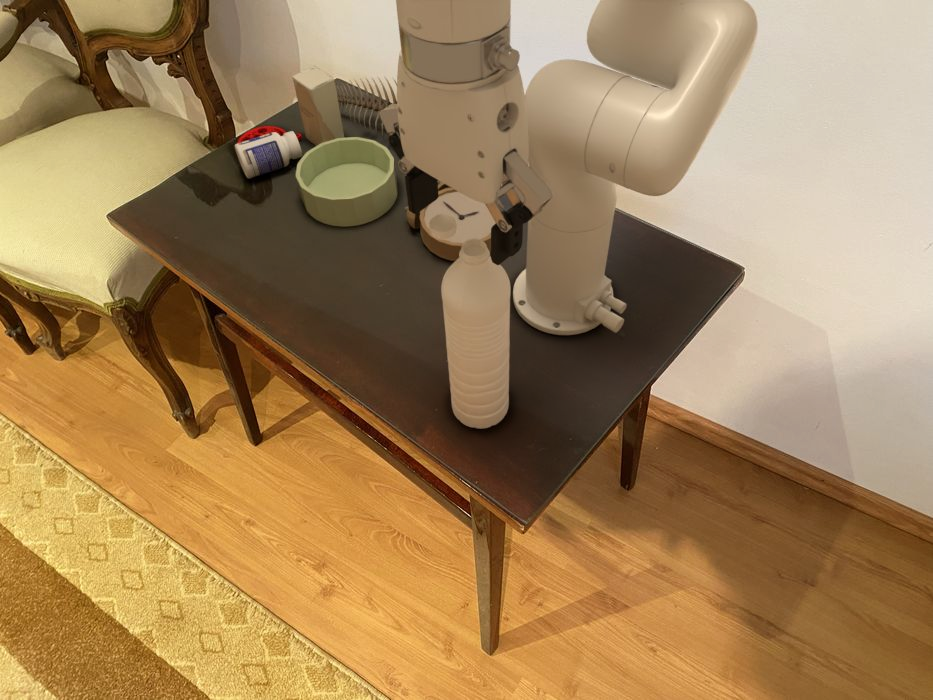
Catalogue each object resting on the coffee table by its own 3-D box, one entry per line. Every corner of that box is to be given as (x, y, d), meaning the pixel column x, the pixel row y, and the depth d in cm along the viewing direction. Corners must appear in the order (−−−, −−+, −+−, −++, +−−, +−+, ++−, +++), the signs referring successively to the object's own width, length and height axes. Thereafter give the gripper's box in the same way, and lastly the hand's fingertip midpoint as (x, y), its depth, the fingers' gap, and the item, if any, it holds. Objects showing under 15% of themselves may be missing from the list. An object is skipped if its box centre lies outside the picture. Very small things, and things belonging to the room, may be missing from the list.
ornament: (236, 131, 117) (298, 120, 119) (237, 134, 118) (299, 123, 119) (238, 161, 113) (303, 149, 114) (239, 164, 113) (304, 153, 114)
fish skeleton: (438, 163, 111) (437, 102, 104) (294, 111, 121) (284, 52, 113) (457, 146, 114) (458, 86, 107) (316, 96, 124) (307, 38, 117)
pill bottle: (250, 186, 110) (306, 168, 113) (242, 162, 106) (301, 144, 108) (238, 161, 113) (294, 143, 115) (231, 136, 108) (288, 119, 110)
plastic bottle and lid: (520, 406, 84) (526, 246, 64) (478, 440, 81) (471, 284, 61) (469, 362, 88) (460, 199, 68) (427, 393, 85) (406, 233, 66)
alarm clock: (459, 260, 94) (386, 190, 99) (456, 283, 99) (386, 214, 104) (521, 219, 99) (448, 154, 104) (516, 242, 103) (446, 179, 108)
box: (305, 138, 117) (289, 75, 108) (327, 127, 118) (313, 63, 110) (325, 153, 114) (310, 89, 105) (347, 141, 116) (334, 77, 107)
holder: (417, 191, 108) (414, 163, 104) (346, 240, 102) (340, 213, 98) (354, 153, 114) (349, 125, 110) (284, 198, 108) (276, 170, 104)
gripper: (590, 62, 48) (570, 252, 61) (406, -17, 56) (423, 168, 69) (516, 113, 45) (511, 302, 58) (330, 22, 52) (364, 208, 66)
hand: (463, 229), depth 64 cm, fingers open, 9 cm apart
